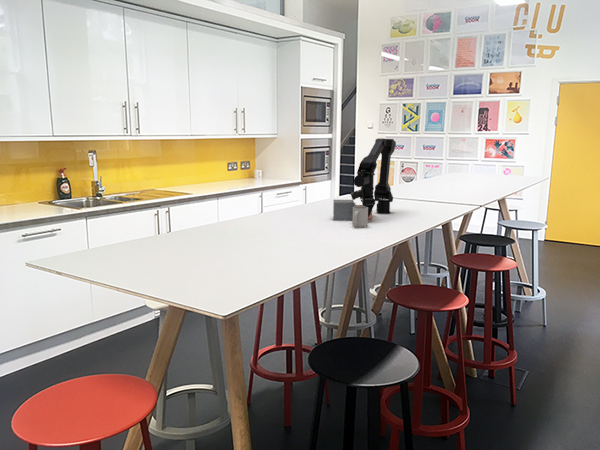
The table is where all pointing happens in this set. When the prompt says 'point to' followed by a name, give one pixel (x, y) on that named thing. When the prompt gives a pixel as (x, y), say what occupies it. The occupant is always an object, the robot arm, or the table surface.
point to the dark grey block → (343, 209)
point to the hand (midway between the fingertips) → (367, 215)
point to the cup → (360, 216)
